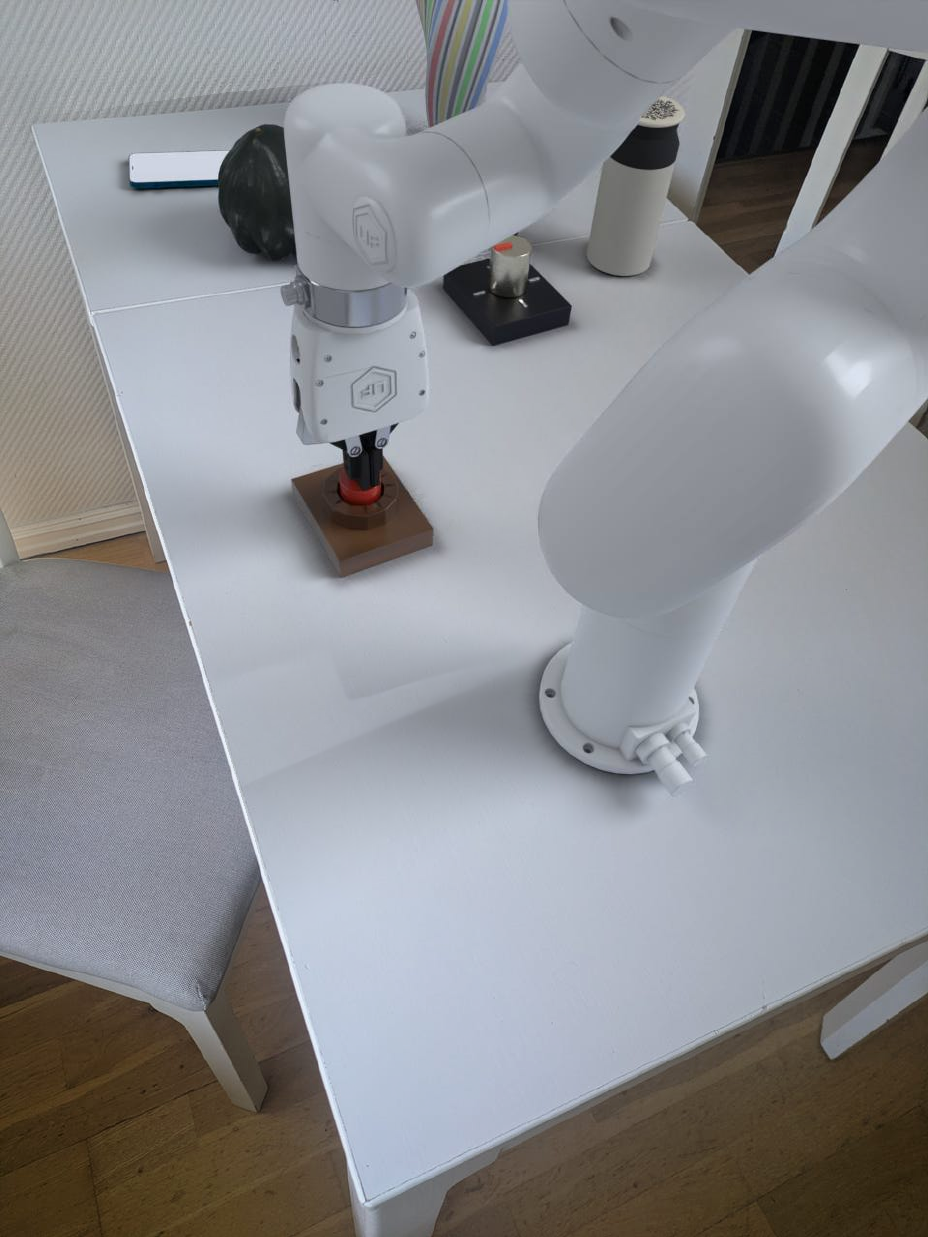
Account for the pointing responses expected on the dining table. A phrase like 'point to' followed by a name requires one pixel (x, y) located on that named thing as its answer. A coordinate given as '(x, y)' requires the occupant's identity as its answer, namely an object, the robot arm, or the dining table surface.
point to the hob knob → (509, 267)
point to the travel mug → (635, 192)
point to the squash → (258, 193)
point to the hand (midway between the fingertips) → (364, 477)
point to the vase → (460, 53)
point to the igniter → (361, 520)
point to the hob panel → (506, 304)
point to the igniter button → (357, 492)
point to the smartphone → (175, 168)
